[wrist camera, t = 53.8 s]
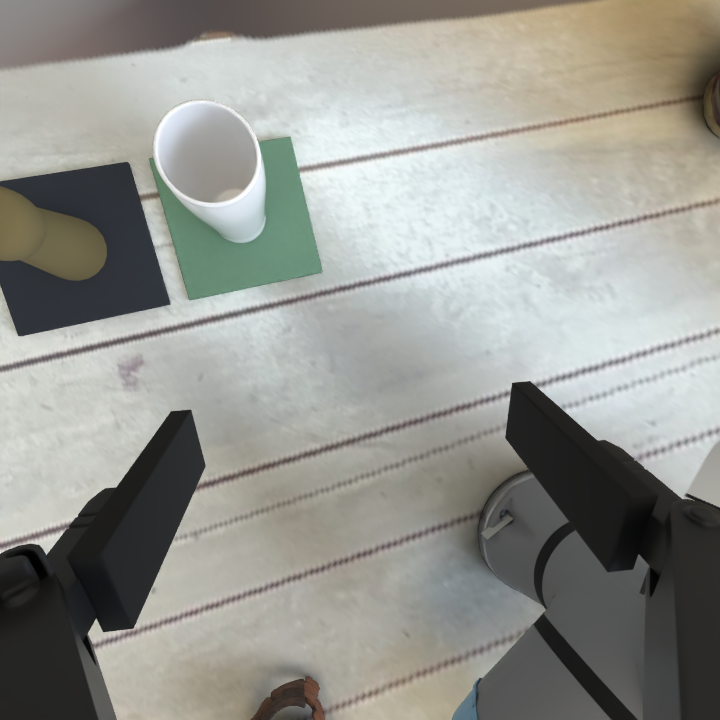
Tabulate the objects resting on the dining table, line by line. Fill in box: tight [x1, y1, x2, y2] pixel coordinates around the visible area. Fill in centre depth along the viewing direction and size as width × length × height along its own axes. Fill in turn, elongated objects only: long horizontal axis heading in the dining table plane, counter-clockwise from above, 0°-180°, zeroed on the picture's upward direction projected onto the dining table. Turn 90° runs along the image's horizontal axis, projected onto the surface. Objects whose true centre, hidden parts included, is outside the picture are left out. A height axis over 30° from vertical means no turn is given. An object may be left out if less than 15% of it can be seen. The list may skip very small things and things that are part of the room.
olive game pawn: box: [0, 186, 107, 281], centre depth 31 cm, size 6×6×11 cm
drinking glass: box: [153, 99, 266, 243], centre depth 31 cm, size 7×7×15 cm
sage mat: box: [149, 137, 322, 300], centre depth 39 cm, size 14×14×1 cm
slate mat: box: [0, 162, 170, 336], centre depth 37 cm, size 14×14×1 cm
